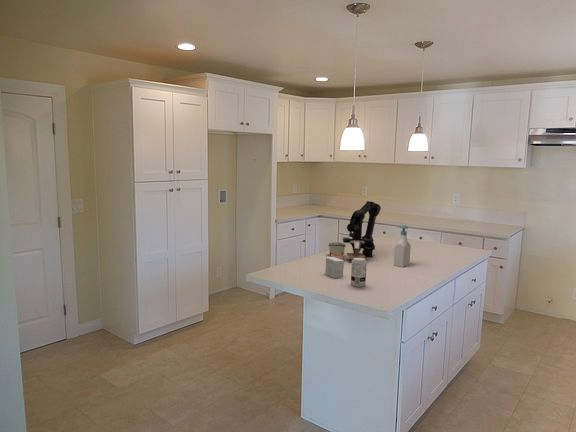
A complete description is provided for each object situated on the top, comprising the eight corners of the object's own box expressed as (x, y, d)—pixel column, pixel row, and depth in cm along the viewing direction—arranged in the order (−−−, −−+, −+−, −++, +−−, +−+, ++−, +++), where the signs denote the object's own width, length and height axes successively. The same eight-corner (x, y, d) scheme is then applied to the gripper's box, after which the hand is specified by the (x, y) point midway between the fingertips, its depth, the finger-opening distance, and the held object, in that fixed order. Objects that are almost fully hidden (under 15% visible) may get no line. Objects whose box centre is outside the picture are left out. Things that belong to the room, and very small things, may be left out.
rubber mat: (362, 259, 296) (362, 259, 296) (366, 264, 284) (366, 263, 284) (345, 259, 296) (345, 258, 296) (348, 263, 284) (348, 263, 284)
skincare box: (343, 277, 252) (344, 260, 250) (334, 278, 248) (335, 261, 247) (333, 272, 261) (334, 256, 259) (324, 274, 257) (325, 257, 256)
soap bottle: (398, 262, 292) (400, 223, 288) (409, 264, 287) (412, 224, 283) (391, 265, 283) (393, 225, 279) (402, 267, 278) (405, 226, 274)
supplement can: (349, 282, 241) (350, 257, 239) (363, 282, 241) (364, 257, 239) (352, 287, 233) (353, 260, 231) (367, 287, 233) (368, 260, 231)
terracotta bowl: (342, 260, 294) (343, 253, 293) (344, 263, 285) (345, 256, 284) (329, 259, 294) (330, 253, 293) (331, 263, 285) (331, 256, 284)
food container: (344, 256, 306) (345, 242, 304) (345, 258, 300) (345, 244, 298) (327, 255, 307) (328, 241, 306) (327, 257, 301) (328, 243, 299)
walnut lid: (362, 254, 295) (362, 247, 294) (365, 258, 284) (366, 251, 283) (346, 254, 294) (347, 247, 294) (349, 257, 284) (350, 250, 283)
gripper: (368, 228, 295) (367, 250, 297) (342, 227, 294) (341, 249, 297) (372, 231, 284) (370, 253, 286) (344, 230, 283) (343, 253, 285)
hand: (356, 252), depth 289 cm, fingers closed on walnut lid, 3 cm apart
